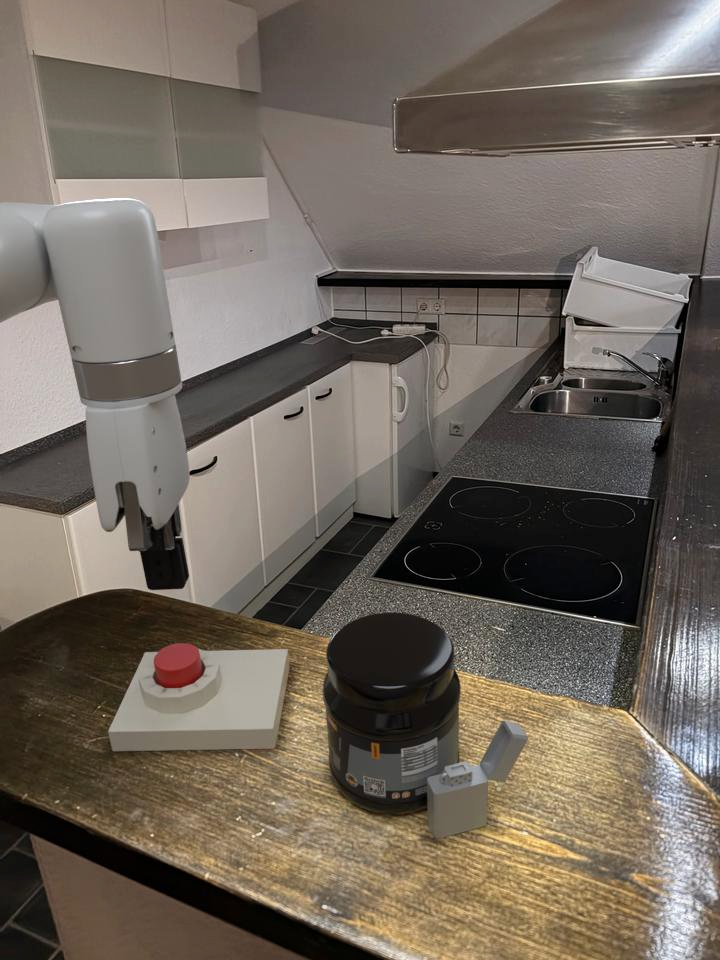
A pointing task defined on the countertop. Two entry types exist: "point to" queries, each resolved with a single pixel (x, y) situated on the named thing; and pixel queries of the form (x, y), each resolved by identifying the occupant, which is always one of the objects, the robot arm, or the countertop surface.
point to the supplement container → (390, 710)
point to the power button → (178, 665)
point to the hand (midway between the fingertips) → (168, 584)
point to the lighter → (472, 784)
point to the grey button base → (205, 705)
